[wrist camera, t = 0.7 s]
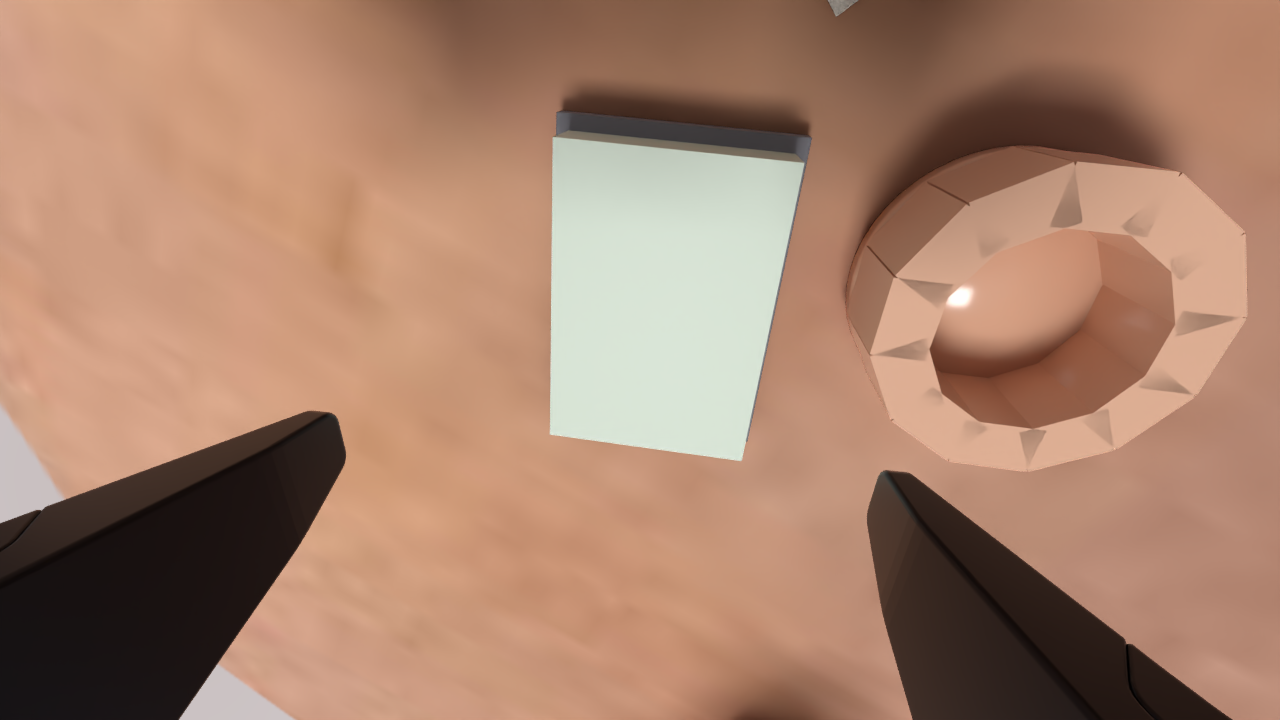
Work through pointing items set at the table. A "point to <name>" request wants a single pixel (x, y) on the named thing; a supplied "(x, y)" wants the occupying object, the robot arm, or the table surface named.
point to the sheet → (663, 288)
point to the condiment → (840, 5)
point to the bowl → (1043, 303)
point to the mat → (692, 135)
